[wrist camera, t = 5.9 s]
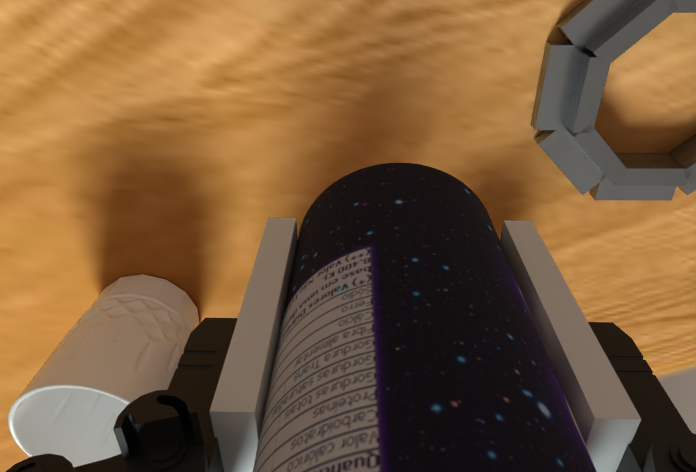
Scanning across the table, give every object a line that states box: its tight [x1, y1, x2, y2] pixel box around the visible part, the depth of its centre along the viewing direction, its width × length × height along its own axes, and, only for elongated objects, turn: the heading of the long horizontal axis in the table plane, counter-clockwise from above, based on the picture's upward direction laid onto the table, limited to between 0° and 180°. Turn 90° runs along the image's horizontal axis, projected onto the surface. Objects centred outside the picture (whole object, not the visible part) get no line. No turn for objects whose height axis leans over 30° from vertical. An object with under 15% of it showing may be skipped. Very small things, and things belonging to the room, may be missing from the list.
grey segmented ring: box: [531, 0, 696, 200], centre depth 26 cm, size 13×13×2 cm
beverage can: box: [253, 163, 597, 472], centre depth 11 cm, size 6×6×12 cm
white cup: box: [8, 274, 199, 467], centre depth 32 cm, size 8×8×10 cm
